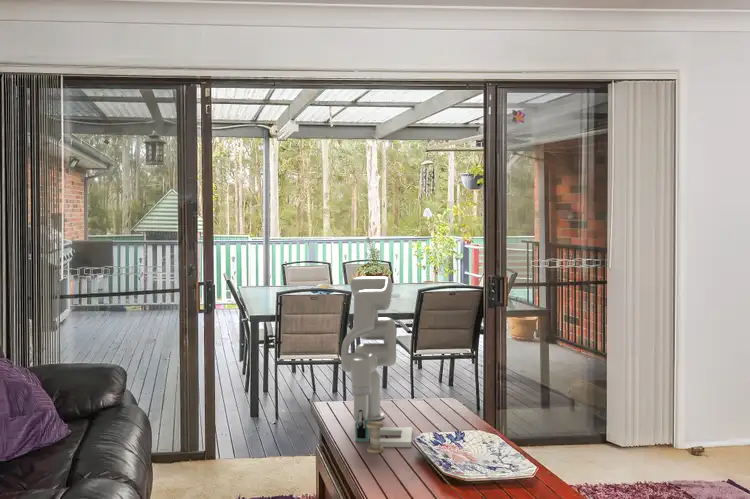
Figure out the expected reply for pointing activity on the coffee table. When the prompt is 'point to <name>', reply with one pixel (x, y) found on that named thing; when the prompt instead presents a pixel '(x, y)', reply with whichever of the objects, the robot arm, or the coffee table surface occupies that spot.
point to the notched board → (396, 442)
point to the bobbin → (375, 437)
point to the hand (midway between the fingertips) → (362, 434)
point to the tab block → (366, 432)
